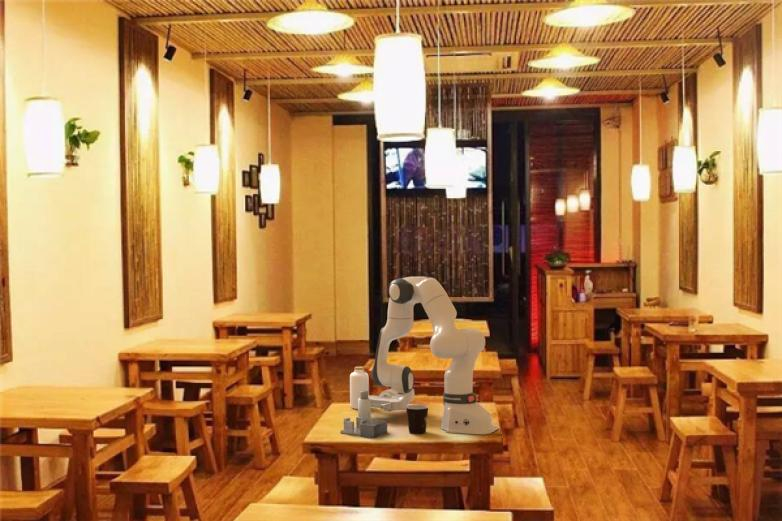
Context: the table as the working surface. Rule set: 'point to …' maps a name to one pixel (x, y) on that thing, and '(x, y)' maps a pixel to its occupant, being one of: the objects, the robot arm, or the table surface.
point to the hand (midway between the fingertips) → (372, 405)
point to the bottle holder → (365, 427)
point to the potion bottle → (358, 385)
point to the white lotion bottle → (364, 406)
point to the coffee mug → (417, 418)
